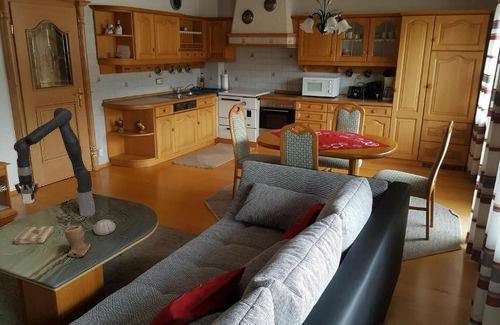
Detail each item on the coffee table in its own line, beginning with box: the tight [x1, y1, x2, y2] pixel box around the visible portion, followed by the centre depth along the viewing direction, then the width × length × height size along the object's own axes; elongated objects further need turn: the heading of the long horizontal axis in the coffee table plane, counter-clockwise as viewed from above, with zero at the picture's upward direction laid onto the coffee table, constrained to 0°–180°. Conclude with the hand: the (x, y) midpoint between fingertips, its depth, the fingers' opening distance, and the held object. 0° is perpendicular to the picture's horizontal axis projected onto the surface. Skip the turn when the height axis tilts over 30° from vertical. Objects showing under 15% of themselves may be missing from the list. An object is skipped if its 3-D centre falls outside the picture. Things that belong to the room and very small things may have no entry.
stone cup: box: [64, 224, 91, 259], centre depth 229 cm, size 15×12×15 cm
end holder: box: [14, 225, 55, 246], centre depth 248 cm, size 16×16×4 cm
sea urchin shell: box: [93, 218, 116, 236], centre depth 256 cm, size 13×14×8 cm
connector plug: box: [21, 189, 35, 204], centre depth 256 cm, size 5×5×8 cm
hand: (28, 199), depth 256 cm, fingers closed on connector plug, 4 cm apart
